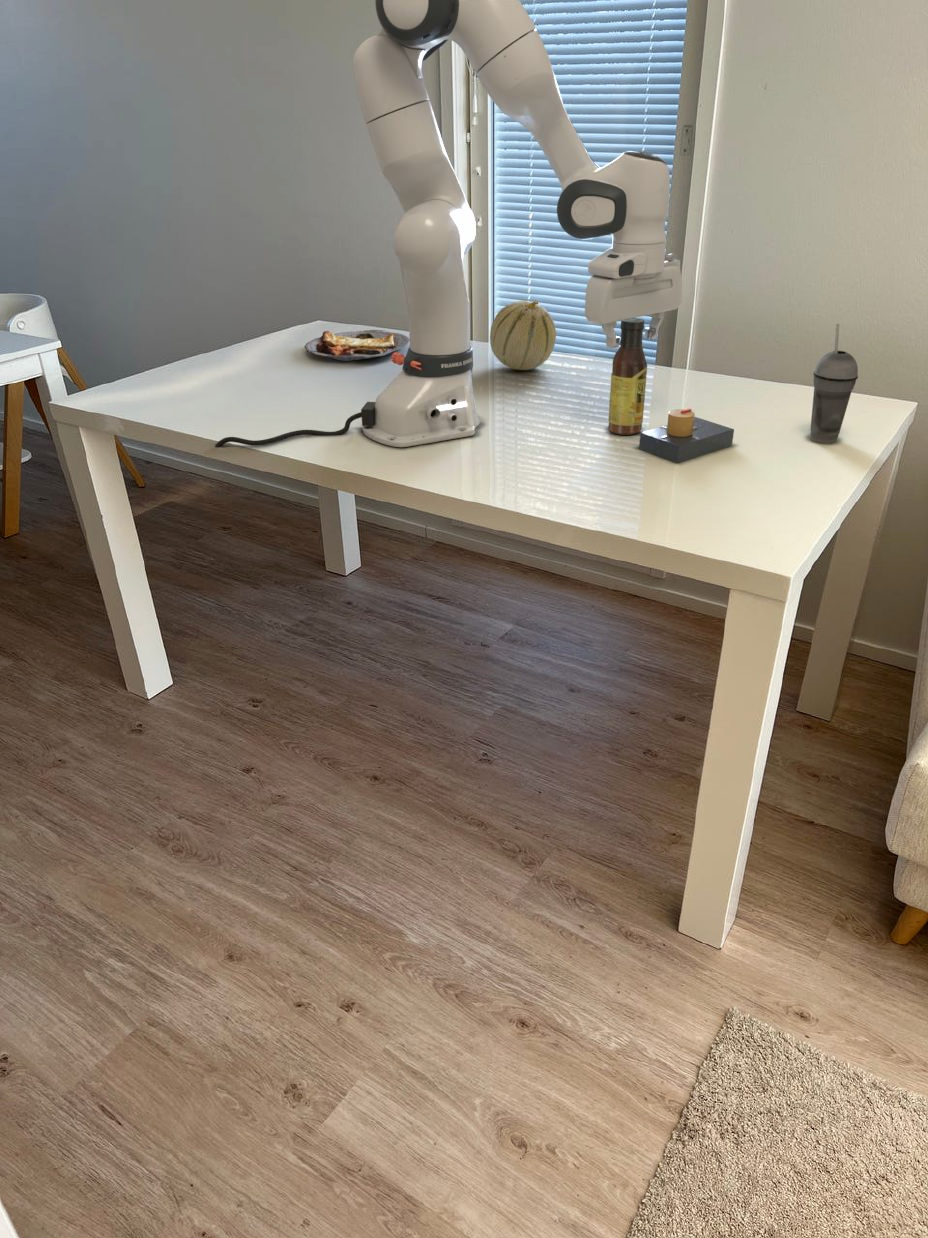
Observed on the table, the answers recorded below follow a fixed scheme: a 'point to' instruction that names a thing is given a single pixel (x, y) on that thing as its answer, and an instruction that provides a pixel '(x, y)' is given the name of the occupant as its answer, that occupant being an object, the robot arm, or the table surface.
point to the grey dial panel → (686, 441)
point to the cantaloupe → (523, 335)
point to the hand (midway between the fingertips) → (632, 342)
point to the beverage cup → (832, 393)
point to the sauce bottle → (628, 380)
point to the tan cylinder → (680, 422)
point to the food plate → (356, 344)
